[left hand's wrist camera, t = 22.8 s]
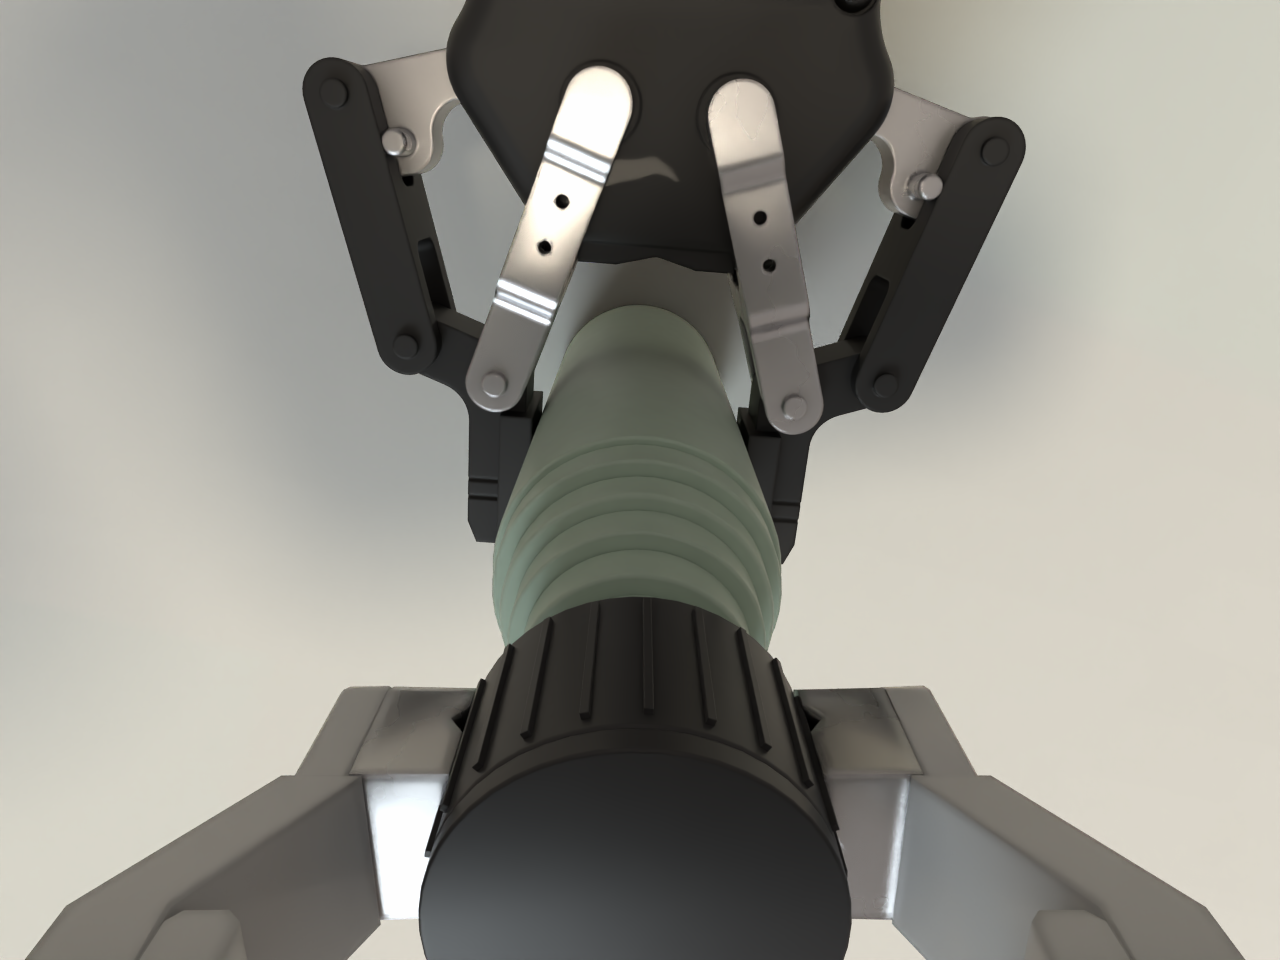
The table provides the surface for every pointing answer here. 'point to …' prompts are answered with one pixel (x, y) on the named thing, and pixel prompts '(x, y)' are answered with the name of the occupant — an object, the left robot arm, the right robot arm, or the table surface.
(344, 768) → the left robot arm
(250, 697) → the table surface
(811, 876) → the cap
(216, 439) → the table surface
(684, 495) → the bottle
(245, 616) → the table surface
